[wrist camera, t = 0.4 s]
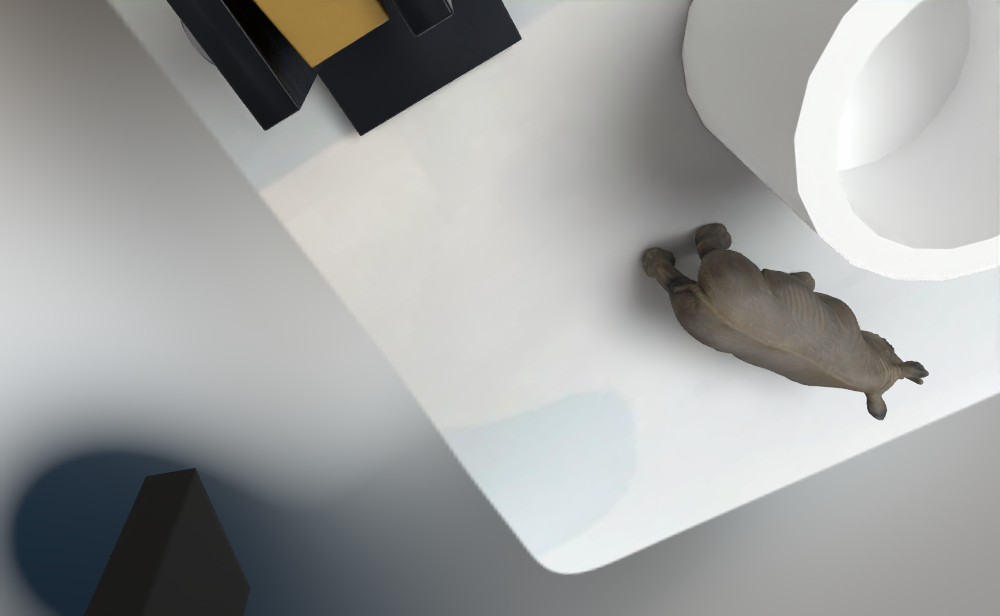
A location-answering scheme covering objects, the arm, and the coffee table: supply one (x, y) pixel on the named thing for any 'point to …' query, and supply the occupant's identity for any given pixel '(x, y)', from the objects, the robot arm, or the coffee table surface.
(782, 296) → the rhino figurine
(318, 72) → the switch bracket
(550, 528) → the coffee table surface
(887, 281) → the coffee table surface
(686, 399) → the coffee table surface
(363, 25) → the switch lever
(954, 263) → the mug
